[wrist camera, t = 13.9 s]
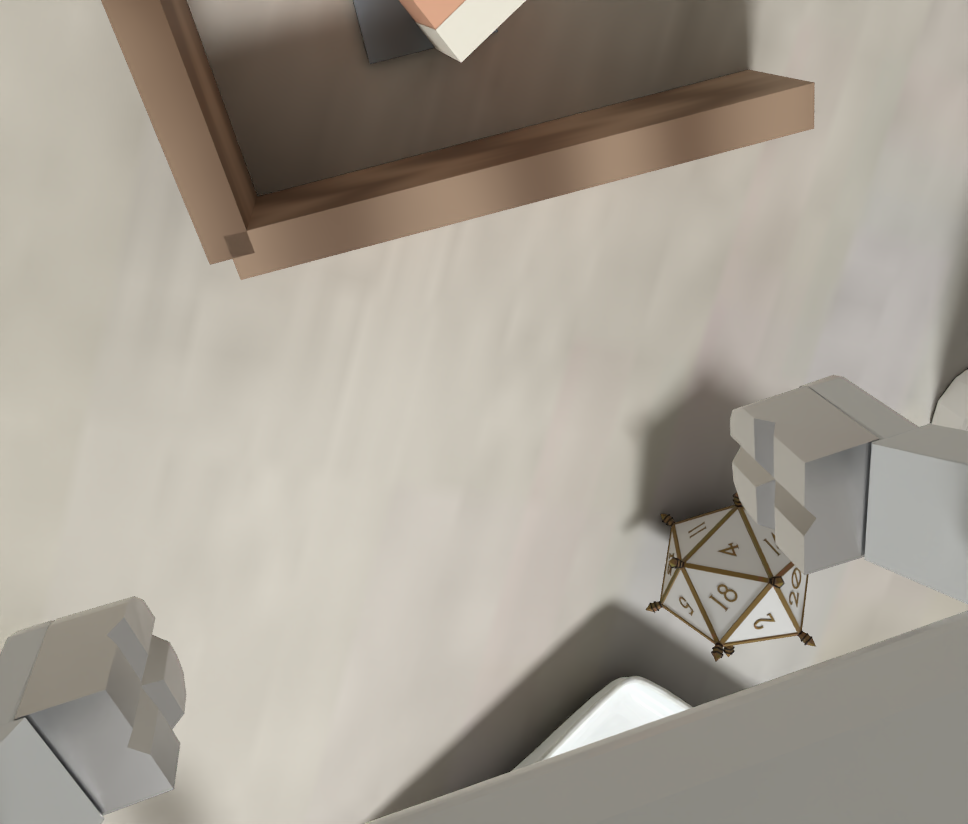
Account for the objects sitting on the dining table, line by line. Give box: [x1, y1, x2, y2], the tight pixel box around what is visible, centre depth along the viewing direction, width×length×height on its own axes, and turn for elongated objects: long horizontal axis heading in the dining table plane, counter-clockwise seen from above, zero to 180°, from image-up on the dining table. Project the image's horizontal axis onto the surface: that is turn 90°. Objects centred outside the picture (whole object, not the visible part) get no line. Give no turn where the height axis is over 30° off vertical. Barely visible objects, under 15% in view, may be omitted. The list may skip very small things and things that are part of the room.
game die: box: [646, 492, 815, 661], centre depth 40 cm, size 9×8×10 cm
